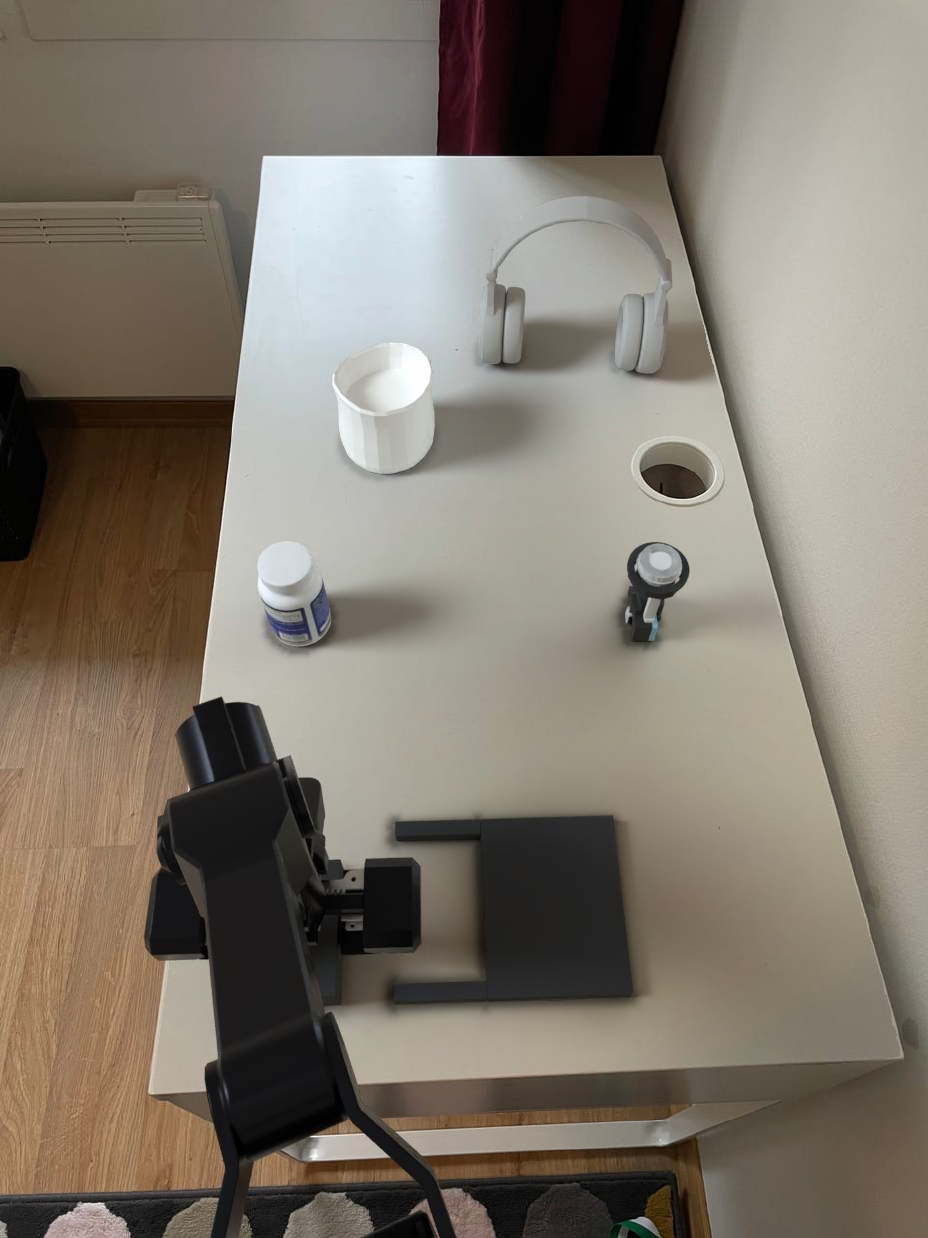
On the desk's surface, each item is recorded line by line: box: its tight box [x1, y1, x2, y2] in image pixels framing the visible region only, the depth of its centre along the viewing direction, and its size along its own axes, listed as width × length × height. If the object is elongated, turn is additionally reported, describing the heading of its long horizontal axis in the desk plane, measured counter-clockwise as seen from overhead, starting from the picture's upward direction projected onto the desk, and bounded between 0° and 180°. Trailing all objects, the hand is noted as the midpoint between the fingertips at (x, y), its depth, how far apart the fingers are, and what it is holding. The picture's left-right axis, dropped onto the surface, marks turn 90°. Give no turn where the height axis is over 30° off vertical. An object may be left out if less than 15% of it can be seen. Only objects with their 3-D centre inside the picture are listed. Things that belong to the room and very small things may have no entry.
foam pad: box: [309, 858, 345, 1007], centre depth 73 cm, size 10×6×4 cm, turn 2°
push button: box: [624, 541, 691, 642], centre depth 86 cm, size 7×5×10 cm
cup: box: [331, 341, 436, 475], centre depth 97 cm, size 10×10×10 cm
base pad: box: [393, 814, 634, 1005], centre depth 76 cm, size 14×18×1 cm
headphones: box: [477, 195, 673, 375], centre depth 100 cm, size 20×8×19 cm, turn 85°
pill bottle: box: [256, 540, 332, 647], centre depth 86 cm, size 6×6×10 cm
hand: (303, 935), depth 74 cm, fingers closed on foam pad, 6 cm apart
